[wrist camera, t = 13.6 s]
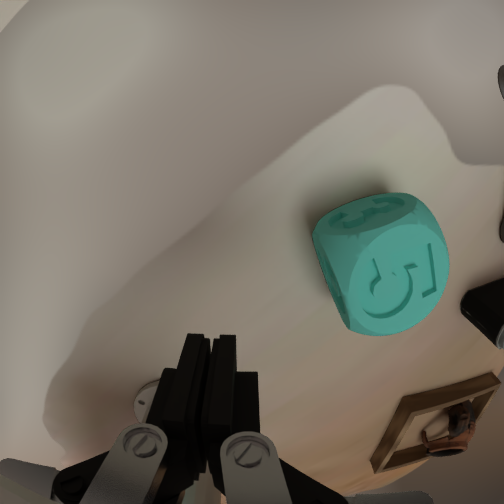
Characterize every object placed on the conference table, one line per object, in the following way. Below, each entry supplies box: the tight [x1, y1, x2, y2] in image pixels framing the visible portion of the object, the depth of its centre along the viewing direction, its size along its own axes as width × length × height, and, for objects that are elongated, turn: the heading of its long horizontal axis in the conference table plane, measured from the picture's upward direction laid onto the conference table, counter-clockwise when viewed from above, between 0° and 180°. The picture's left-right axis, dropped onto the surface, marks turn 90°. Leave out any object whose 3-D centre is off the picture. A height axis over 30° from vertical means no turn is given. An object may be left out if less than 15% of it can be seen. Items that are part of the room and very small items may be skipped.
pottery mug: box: [422, 400, 476, 457], centre depth 31 cm, size 12×10×8 cm
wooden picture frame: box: [370, 372, 501, 474], centre depth 32 cm, size 16×18×3 cm
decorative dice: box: [312, 193, 449, 336], centre depth 21 cm, size 8×8×8 cm
